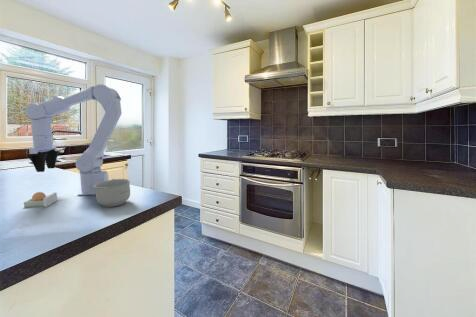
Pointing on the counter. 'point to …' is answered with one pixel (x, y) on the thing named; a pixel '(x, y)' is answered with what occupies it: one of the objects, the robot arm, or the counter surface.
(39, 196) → the ball
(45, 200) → the wall
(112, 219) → the counter surface
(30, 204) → the tray
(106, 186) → the teacup
